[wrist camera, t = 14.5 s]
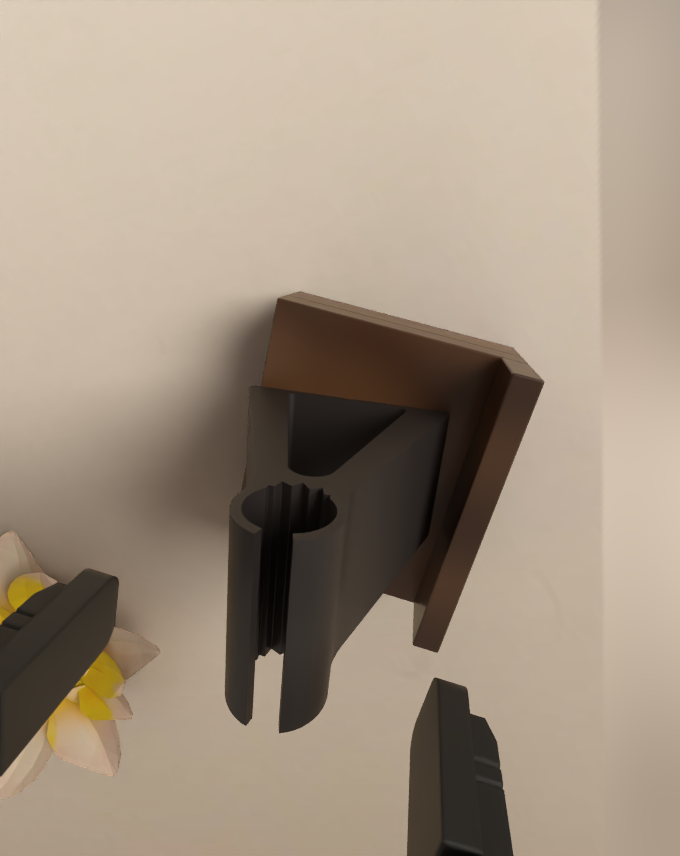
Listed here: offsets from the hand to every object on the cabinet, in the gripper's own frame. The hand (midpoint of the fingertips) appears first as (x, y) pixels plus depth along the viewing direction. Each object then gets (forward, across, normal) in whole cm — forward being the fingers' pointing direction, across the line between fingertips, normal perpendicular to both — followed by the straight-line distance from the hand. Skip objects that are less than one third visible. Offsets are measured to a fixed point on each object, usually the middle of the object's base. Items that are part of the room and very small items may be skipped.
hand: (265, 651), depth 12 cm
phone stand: (+12, 0, 0) cm, 12 cm away
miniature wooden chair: (+16, -1, 0) cm, 16 cm away
